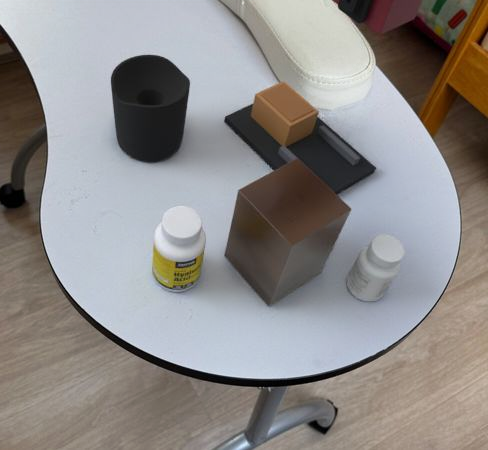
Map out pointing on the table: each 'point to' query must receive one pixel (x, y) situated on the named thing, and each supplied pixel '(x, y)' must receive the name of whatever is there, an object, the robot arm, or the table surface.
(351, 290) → the pill bottle
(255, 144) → the base mat
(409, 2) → the red lidded box
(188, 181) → the table surface
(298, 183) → the tall brown block
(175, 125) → the pen holder
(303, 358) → the table surface
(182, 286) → the supplement bottle
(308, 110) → the small orange-brown block
